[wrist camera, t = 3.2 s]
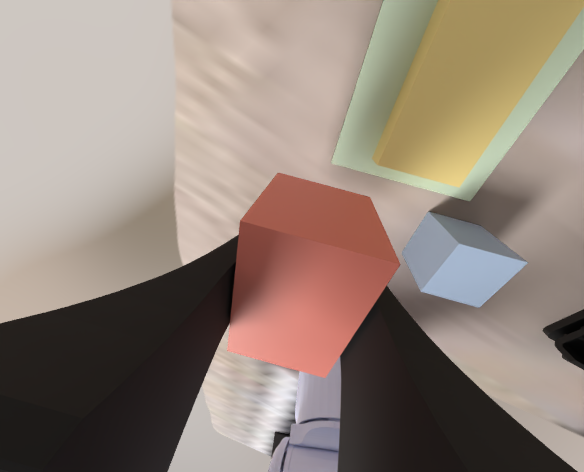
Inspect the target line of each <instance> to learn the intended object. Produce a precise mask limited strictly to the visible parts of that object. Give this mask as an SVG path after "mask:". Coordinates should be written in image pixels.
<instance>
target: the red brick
mask: <svg viewBox="0 0 584 472" xmlns="http://www.w3.org/2000/svg"><path fill="white" fill-rule="evenodd" d="M399 266H400V262H399V260H398V258H397V256H396V254H395V251H394V249H393V247H392V245H391V243H390V240H389V238H388V236H387V234H386V232H385V229H384V227H383V225H382V223H381V221H380V218H379V216H378V214H377V212H376V210H375V207H374V205H373V203H372V201H371V199H370V197H367V196H364V195H360V194H356V193H352V192H349V191H345V190H341V189H338V188H334V187H330V186H326V185H323V184H319V183H315V182H312V181H308V180H304V179H300V178H297V177H293V176H289V175H286V174H282V173H277V175H276V176H275V177H274V178H273V180H272V181H271V182H270V184H269V185H268V186H267V187H266V189H265V190H264V191H263V192H262V194H261V195H260V196H259V198H258V199H257V200H256V201H255V203H254V204H253V205H252V206H251V208H250V209H249V210H248V212H247V213H246V214H245V215H244V217H243V218H242V219H241V220H240V228H239V238H238V248H237V258H236V268H235V278H234V288H233V298H232V308H231V318H230V328H229V338H228V348H227V351H230V352H233V353H237V354H240V355H244V356H247V357H251V358H255V359H258V360H262V361H265V362H269V363H273V364H276V365H280V366H283V367H287V368H290V369H294V370H298V371H301V372H305V373H308V374H312V375H316V376H319V377H323V378H326V376H327V375H328V373H329V372H330V370H331V369H332V367H333V366H334V364H335V363H336V361H337V360H338V358H339V357H340V355H341V354H342V352H343V351H344V349H345V348H346V346H347V345H348V343H349V342H350V340H351V338H352V337H353V335H354V334H355V332H356V331H357V329H358V328H359V326H360V325H361V323H362V322H363V320H364V319H365V317H366V316H367V314H368V313H369V311H370V310H371V308H372V307H373V305H374V304H375V302H376V301H377V299H378V298H379V296H380V295H381V293H382V292H383V290H384V289H385V287H386V286H387V284H388V283H389V281H390V279H391V278H392V276H393V275H394V273H395V272H396V270H397V269H398V267H399Z"/></svg>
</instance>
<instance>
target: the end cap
mask: <svg viewBox="0 0 584 472" xmlns="http://www.w3.org/2000/svg"><path fill="white" fill-rule="evenodd" d="M543 332H544V333H545V334H546V335H547V336H548V337H549V338H550V339H552V340H554V341H555V346H556V348H557V349H558V350H559V351H560V352H561V353H562V354H563V355H562V358H563V359H565V360H567V361H569V362H570V363H572V364H574V365H576V366H578V367H579V368H581V369H583V370H584V310H581V311H579V312H577V313H575V314H573V315H571V316H568V317H566V318H564V319H562V320H560V321H558V322H555V323H553V324H551V325H549V326H547V327H545V328H544V329H543Z"/></svg>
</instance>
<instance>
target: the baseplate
mask: <svg viewBox="0 0 584 472" xmlns="http://www.w3.org/2000/svg"><path fill="white" fill-rule="evenodd" d="M437 2H438V0H383V3H382V6H381V9H380V12H379V15H378V19H377V22H376V25H375V28H374V31H373V34H372V37H371V40H370V43H369V46H368V50H367V53H366V56H365V59H364V62H363V65H362V68H361V71H360V74H359V78H358V81H357V84H356V87H355V90H354V93H353V96H352V99H351V102H350V106H349V109H348V112H347V115H346V118H345V121H344V124H343V127H342V130H341V134H340V137H339V140H338V143H337V146H336V149H335V152H334V155H333V158H332V162H331V163H332V164H335V165H339V166H343V167H346V168H350V169H353V170H357V171H361V172H364V173H368V174H372V175H375V176H379V177H382V178H386V179H390V180H393V181H397V182H401V183H404V184H408V185H412V186H415V187H419V188H422V189H426V190H430V191H433V192H437V193H441V194H444V195H448V196H451V197H455V198H459V199H462V200H466V201H471V199H472V198H473V197H474V195H475V194H476V193H477V191H478V190H479V189H480V187H481V186H482V185H483V183H484V182H485V181H486V179H487V178H488V177H489V175H490V174H491V173H492V171H493V170H494V169H495V167H496V166H497V165H498V163H499V162H500V161H501V159H502V158H503V157H504V155H505V154H506V153H507V151H508V150H509V149H510V147H511V146H512V145H513V143H514V142H515V140H516V139H517V138H518V136H519V135H520V134H521V132H522V131H523V130H524V128H525V127H526V126H527V124H528V123H529V122H530V120H531V119H532V118H533V116H534V115H535V114H536V112H537V111H538V110H539V108H540V107H541V106H542V104H543V103H544V102H545V100H546V99H547V98H548V96H549V95H550V94H551V92H552V91H553V90H554V88H555V87H556V86H557V84H558V83H559V82H560V80H561V79H562V77H563V76H564V75H565V73H566V72H567V71H568V69H569V68H570V67H571V65H572V64H573V63H574V61H575V60H576V59H577V57H578V56H579V55H580V53H581V52H582V51H583V49H584V8H583V9H582V10H581V12H580V13H579V15H578V16H577V18H576V19H575V21H574V22H573V24H572V25H571V26H570V28H569V29H568V31H567V32H566V34H565V35H564V37H563V38H562V39H561V41H560V42H559V44H558V45H557V47H556V48H555V50H554V51H553V53H552V54H551V55H550V57H549V58H548V60H547V61H546V63H545V64H544V66H543V67H542V68H541V70H540V71H539V73H538V74H537V76H536V77H535V79H534V80H533V82H532V83H531V84H530V86H529V87H528V89H527V90H526V92H525V93H524V95H523V96H522V97H521V99H520V100H519V102H518V103H517V105H516V106H515V108H514V109H513V111H512V112H511V113H510V115H509V116H508V118H507V119H506V121H505V122H504V124H503V125H502V126H501V128H500V129H499V131H498V132H497V134H496V135H495V137H494V138H493V140H492V141H491V142H490V144H489V145H488V147H487V148H486V150H485V151H484V153H483V154H482V156H481V157H480V158H479V160H478V161H477V163H476V164H475V166H474V167H473V169H472V170H471V171H470V173H469V174H468V176H467V177H466V179H465V180H464V182H463V183H462V185H461V186H460V187H455V186H451V185H448V184H444V183H440V182H437V181H433V180H430V179H426V178H422V177H419V176H415V175H411V174H408V173H404V172H400V171H397V170H393V169H390V168H386V167H382V166H379V165H377V164H376V163H375V162H374V160H373V159H372V157H373V154H374V152H375V150H376V147H377V145H378V142H379V140H380V138H381V135H382V133H383V130H384V128H385V126H386V123H387V121H388V119H389V116H390V114H391V111H392V109H393V107H394V104H395V102H396V99H397V97H398V95H399V92H400V90H401V88H402V85H403V83H404V80H405V78H406V76H407V73H408V71H409V69H410V66H411V64H412V61H413V59H414V57H415V54H416V52H417V49H418V47H419V45H420V42H421V40H422V38H423V35H424V33H425V30H426V28H427V26H428V23H429V21H430V18H431V16H432V14H433V11H434V9H435V7H436V4H437Z"/></svg>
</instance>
